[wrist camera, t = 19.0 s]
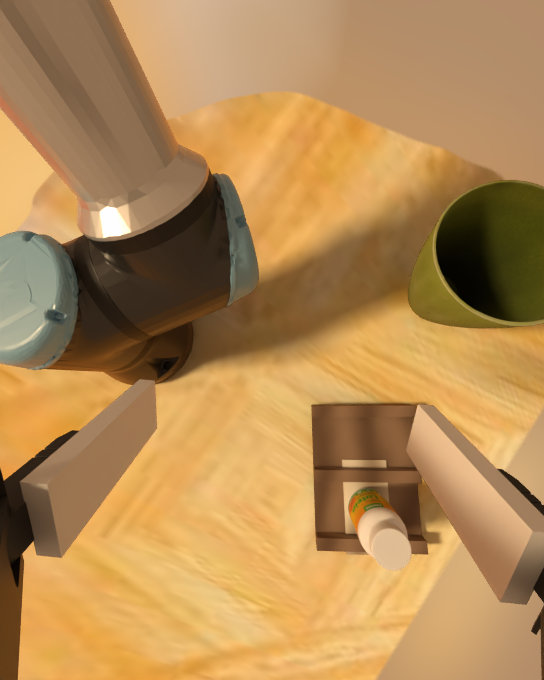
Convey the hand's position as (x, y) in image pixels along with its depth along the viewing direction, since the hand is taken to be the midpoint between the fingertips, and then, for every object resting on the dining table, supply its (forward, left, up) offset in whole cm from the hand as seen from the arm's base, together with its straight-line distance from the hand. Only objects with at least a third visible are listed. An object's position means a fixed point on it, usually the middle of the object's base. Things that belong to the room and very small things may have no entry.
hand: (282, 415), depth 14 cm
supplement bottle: (+10, -15, -28) cm, 33 cm away
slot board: (+10, -11, -29) cm, 32 cm away
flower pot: (+22, +14, -29) cm, 39 cm away
